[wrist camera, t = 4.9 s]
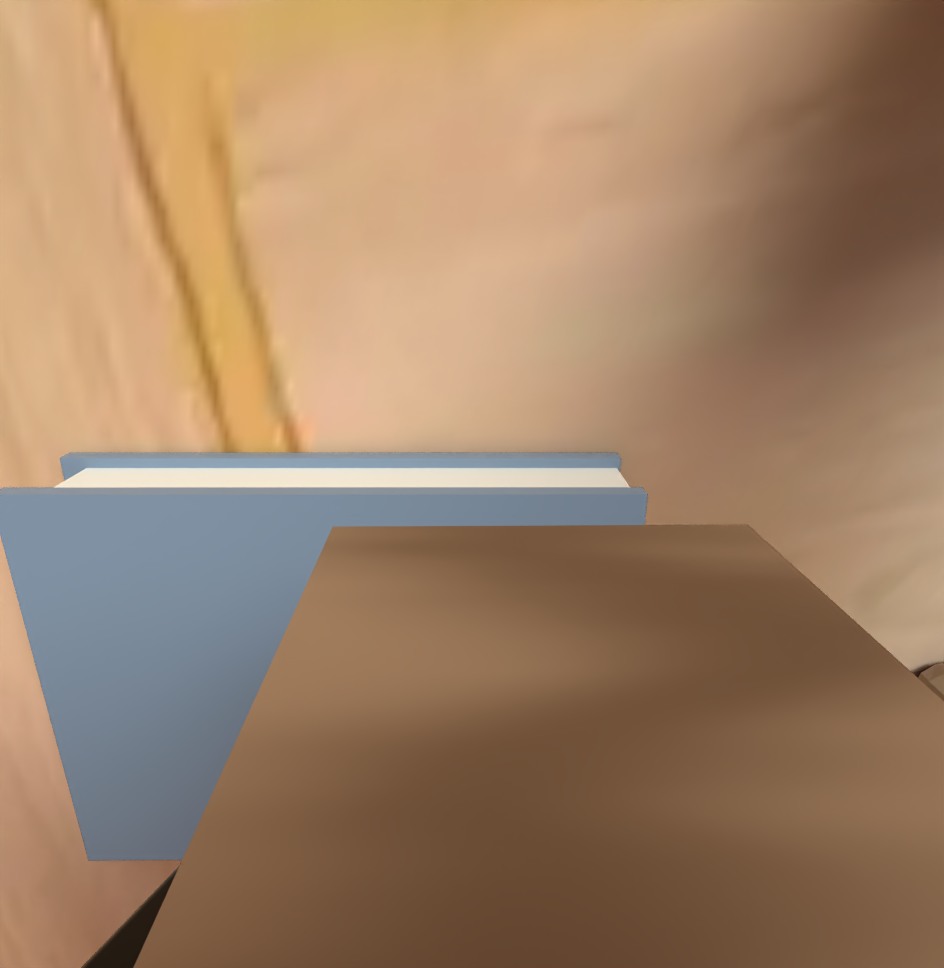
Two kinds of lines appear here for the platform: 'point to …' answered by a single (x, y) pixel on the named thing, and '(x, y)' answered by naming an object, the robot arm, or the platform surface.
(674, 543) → the walnut block
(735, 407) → the platform surface
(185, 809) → the book
